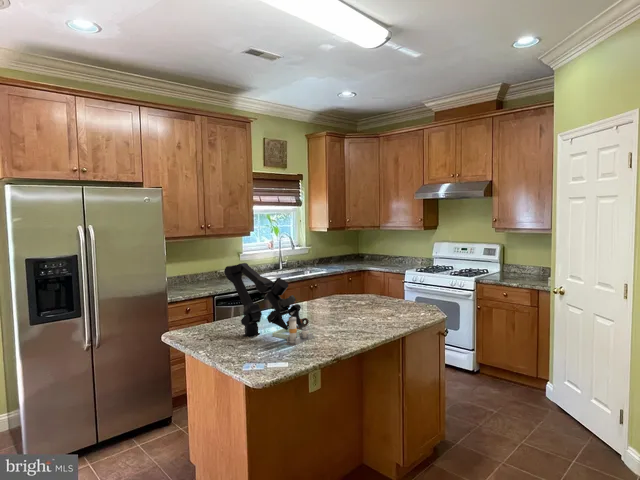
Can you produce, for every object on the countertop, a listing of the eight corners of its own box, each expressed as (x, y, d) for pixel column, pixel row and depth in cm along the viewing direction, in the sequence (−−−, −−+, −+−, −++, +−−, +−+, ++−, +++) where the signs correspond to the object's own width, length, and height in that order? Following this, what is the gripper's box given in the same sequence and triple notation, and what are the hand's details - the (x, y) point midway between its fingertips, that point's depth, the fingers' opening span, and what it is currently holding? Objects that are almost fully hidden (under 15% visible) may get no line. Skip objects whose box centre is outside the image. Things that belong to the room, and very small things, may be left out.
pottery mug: (292, 335, 213) (286, 320, 215) (289, 338, 221) (283, 324, 224) (313, 326, 217) (306, 311, 220) (309, 329, 226) (303, 315, 228)
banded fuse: (288, 343, 195) (286, 318, 194) (292, 341, 198) (291, 316, 197) (294, 344, 193) (293, 318, 192) (298, 342, 196) (297, 317, 195)
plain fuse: (300, 338, 202) (300, 328, 202) (305, 336, 205) (304, 326, 205) (306, 339, 200) (306, 329, 200) (310, 337, 203) (310, 327, 202)
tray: (272, 338, 207) (272, 332, 207) (285, 332, 216) (285, 327, 215) (289, 341, 201) (289, 335, 201) (302, 335, 210) (302, 330, 209)
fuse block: (283, 345, 194) (282, 338, 194) (306, 336, 207) (306, 329, 207) (292, 348, 190) (292, 340, 190) (315, 338, 204) (315, 331, 203)
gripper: (270, 294, 189) (289, 321, 183) (297, 287, 204) (315, 312, 198) (259, 309, 195) (277, 336, 188) (286, 301, 209) (303, 326, 203)
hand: (294, 327), depth 194 cm, fingers open, 9 cm apart
